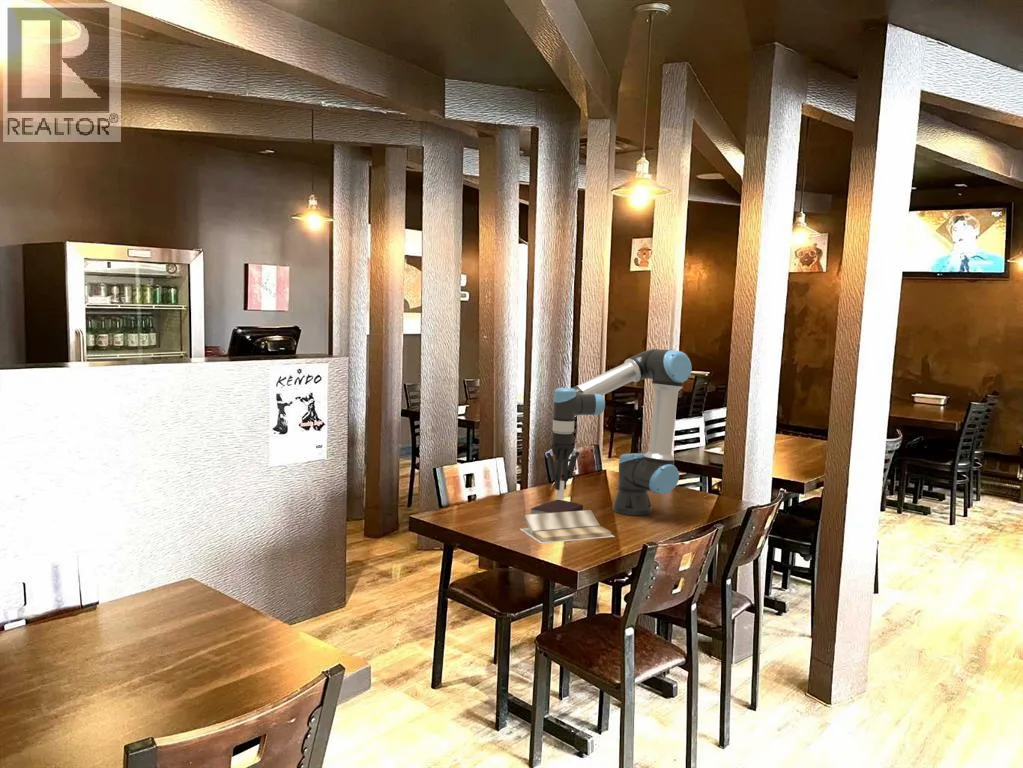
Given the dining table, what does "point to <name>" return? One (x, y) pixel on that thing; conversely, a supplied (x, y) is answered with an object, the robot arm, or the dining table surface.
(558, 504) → the book
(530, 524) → the loose plank
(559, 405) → the robot arm
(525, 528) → the floor board
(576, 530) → the laid plank
